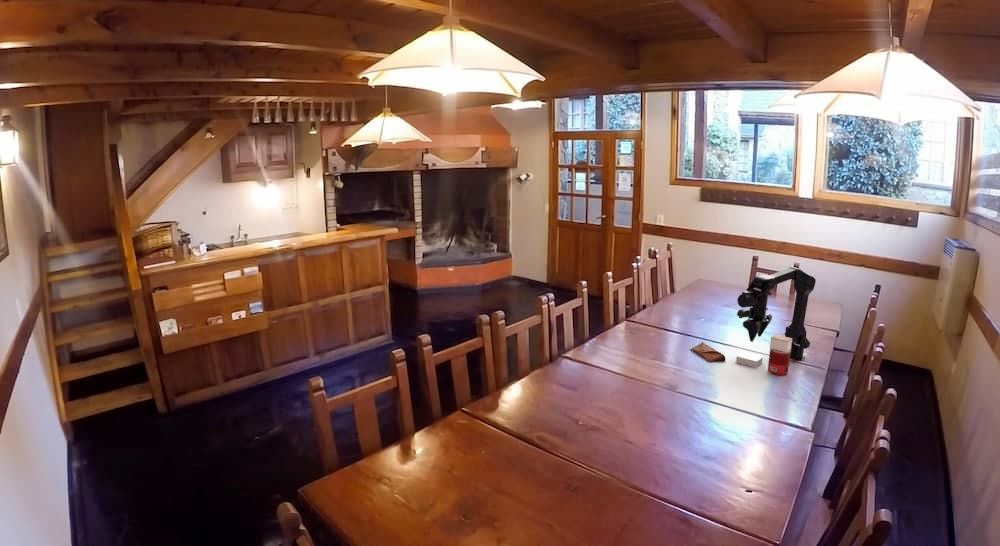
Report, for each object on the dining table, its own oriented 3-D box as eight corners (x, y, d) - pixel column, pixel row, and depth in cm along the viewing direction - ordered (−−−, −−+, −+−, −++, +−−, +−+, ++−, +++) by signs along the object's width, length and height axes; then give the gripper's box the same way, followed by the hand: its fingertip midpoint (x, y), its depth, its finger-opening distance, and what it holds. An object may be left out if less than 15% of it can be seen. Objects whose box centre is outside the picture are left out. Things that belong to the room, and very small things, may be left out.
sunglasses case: (687, 349, 284) (694, 337, 283) (697, 354, 286) (704, 343, 286) (709, 363, 267) (717, 350, 266) (720, 369, 269) (728, 356, 269)
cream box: (773, 345, 259) (775, 334, 258) (790, 349, 254) (792, 338, 253) (769, 348, 256) (770, 337, 254) (786, 352, 251) (788, 341, 250)
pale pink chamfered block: (742, 358, 273) (742, 352, 273) (762, 363, 267) (762, 357, 266) (736, 362, 268) (736, 356, 268) (756, 367, 262) (756, 361, 262)
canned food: (789, 376, 253) (792, 352, 251) (769, 375, 255) (772, 351, 252) (785, 369, 260) (788, 346, 258) (765, 368, 262) (768, 344, 259)
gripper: (749, 297, 270) (745, 329, 274) (732, 305, 257) (728, 339, 260) (774, 302, 263) (770, 335, 266) (758, 311, 249) (754, 346, 253)
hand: (755, 338), depth 262 cm, fingers open, 9 cm apart
